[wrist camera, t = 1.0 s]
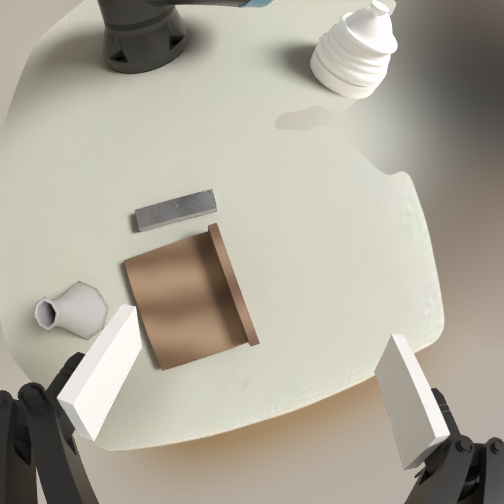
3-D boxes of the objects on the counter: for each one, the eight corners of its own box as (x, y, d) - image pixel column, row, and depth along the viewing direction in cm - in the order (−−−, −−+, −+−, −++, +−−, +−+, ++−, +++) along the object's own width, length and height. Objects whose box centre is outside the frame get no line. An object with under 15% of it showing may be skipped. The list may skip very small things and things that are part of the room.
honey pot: (355, 110, 43) (409, 41, 25) (295, 65, 43) (327, -13, 25) (384, 80, 45) (431, 23, 28) (332, 41, 45) (365, -23, 27)
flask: (79, 271, 34) (40, 263, 24) (118, 306, 34) (86, 309, 24) (53, 313, 32) (11, 317, 22) (90, 349, 32) (54, 364, 23)
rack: (127, 262, 35) (116, 257, 30) (216, 231, 37) (216, 222, 32) (163, 367, 33) (157, 377, 29) (254, 337, 36) (259, 343, 31)
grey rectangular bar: (138, 214, 36) (134, 210, 34) (212, 194, 38) (211, 189, 36) (142, 232, 36) (138, 229, 34) (216, 212, 38) (217, 207, 36)
